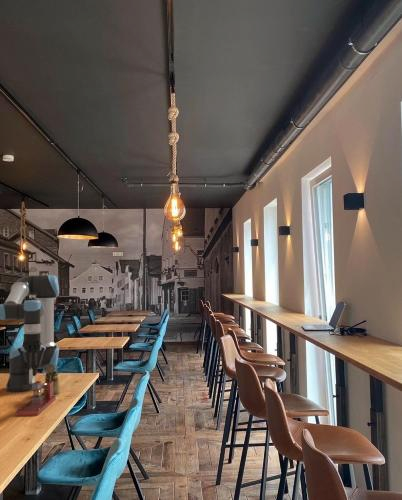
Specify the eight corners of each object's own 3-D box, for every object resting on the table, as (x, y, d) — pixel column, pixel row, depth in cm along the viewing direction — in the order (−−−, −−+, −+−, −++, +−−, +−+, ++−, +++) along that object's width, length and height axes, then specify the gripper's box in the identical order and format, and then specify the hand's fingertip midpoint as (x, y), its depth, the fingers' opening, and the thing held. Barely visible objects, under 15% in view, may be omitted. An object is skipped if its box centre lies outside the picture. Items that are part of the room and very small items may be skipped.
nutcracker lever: (39, 388, 219) (40, 383, 220) (48, 388, 219) (48, 383, 220) (22, 389, 197) (22, 384, 198) (31, 389, 197) (32, 384, 198)
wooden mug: (39, 398, 225) (39, 363, 226) (44, 391, 238) (45, 358, 239) (56, 397, 226) (56, 363, 227) (61, 390, 239) (61, 358, 240)
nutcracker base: (36, 400, 222) (36, 380, 222) (55, 399, 222) (55, 380, 223) (16, 415, 197) (16, 393, 197) (38, 415, 197) (38, 393, 198)
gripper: (15, 334, 201) (14, 385, 199) (43, 333, 201) (42, 384, 199) (21, 332, 208) (21, 381, 207) (48, 331, 208) (48, 380, 207)
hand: (31, 382), depth 203 cm, fingers closed
